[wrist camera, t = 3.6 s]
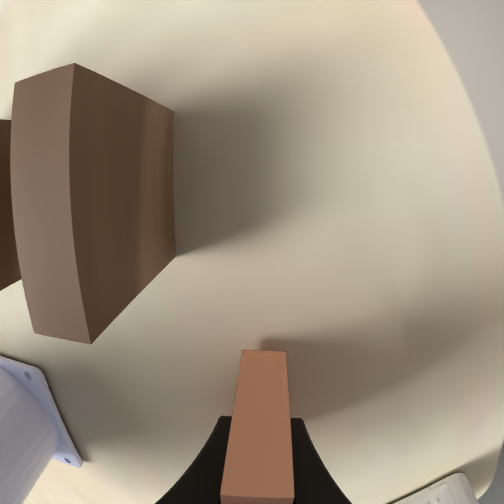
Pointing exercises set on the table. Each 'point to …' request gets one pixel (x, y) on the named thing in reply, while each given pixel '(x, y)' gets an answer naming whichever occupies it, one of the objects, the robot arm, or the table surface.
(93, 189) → the walnut domino
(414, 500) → the white box with text
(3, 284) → the walnut domino
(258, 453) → the terracotta domino
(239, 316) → the table surface
